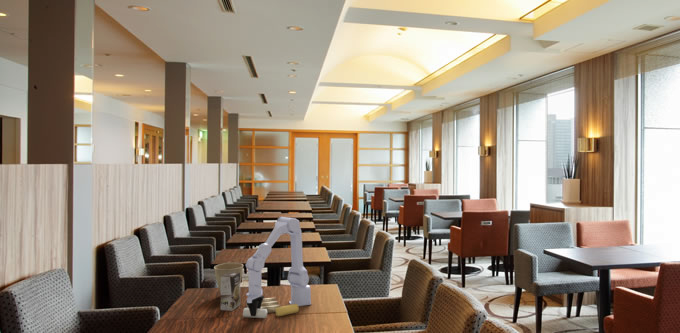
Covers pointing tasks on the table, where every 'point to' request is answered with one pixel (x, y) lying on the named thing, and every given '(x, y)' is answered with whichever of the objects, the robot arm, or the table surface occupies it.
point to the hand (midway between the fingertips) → (255, 314)
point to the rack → (269, 304)
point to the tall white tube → (259, 314)
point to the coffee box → (230, 291)
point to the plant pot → (226, 268)
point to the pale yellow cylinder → (286, 310)
